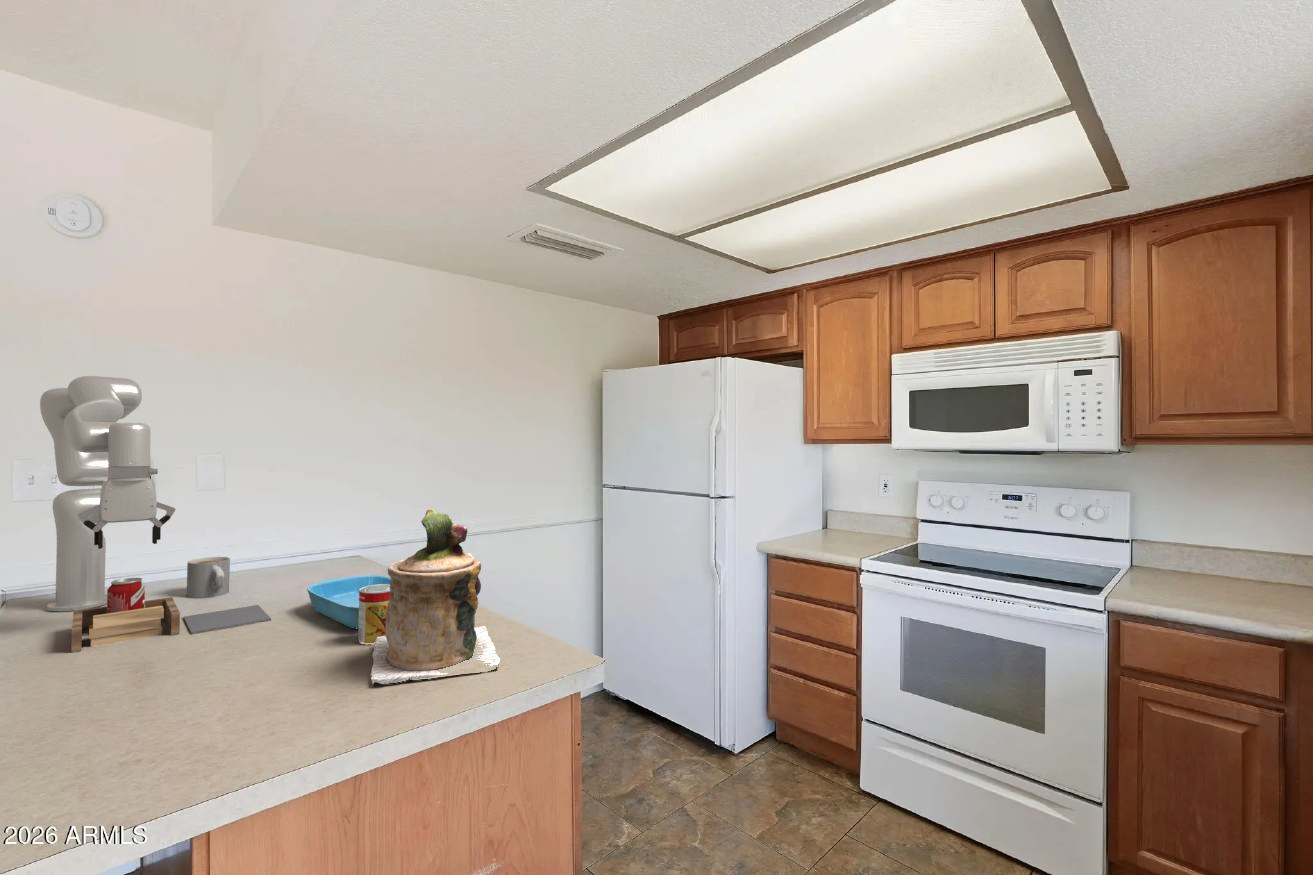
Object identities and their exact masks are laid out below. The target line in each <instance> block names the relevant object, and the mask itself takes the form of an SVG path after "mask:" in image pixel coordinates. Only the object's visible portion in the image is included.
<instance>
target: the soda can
mask: <svg viewBox="0 0 1313 875" xmlns="http://www.w3.org/2000/svg"><path fill="white" fill-rule="evenodd" d="M106 591H107V592H106V595H107V604H106V606H107V614H109V613H115V612H122V611H129V610H136V609H143V608H145V601H146V584H145V583H144V582H143V578H141V577H126V578H118V579H114V580H112V581H111V582H110V586H109V587H108V588H107V590H106Z"/></svg>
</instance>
